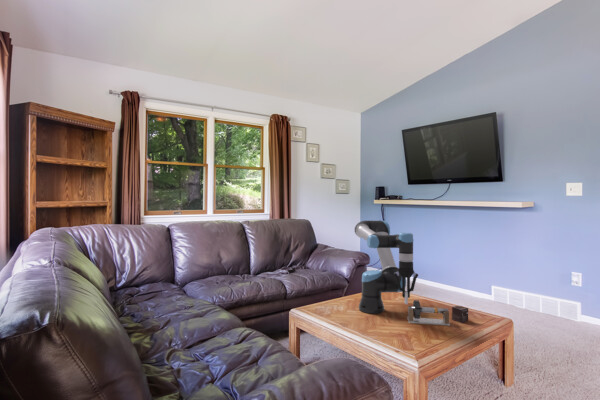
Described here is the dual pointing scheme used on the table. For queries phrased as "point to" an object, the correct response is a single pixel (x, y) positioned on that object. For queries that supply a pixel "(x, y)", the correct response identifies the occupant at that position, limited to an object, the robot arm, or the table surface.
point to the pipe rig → (426, 320)
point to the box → (460, 314)
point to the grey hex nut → (417, 309)
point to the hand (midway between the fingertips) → (406, 303)
